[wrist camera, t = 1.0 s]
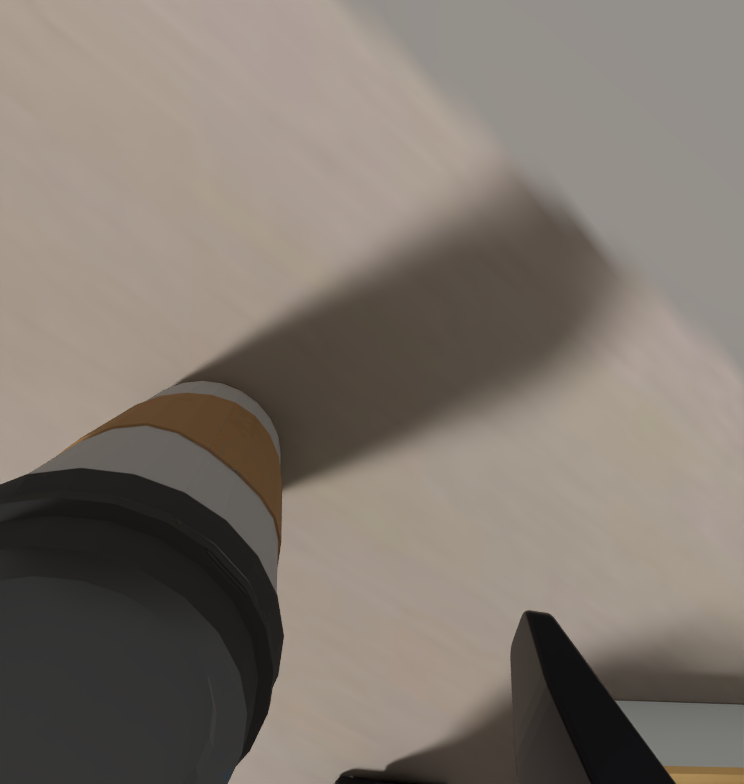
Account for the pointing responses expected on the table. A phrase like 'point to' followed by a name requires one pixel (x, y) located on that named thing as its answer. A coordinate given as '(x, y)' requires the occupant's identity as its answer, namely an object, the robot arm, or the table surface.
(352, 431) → the table surface
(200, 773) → the coffee cup
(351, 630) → the table surface
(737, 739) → the channel
